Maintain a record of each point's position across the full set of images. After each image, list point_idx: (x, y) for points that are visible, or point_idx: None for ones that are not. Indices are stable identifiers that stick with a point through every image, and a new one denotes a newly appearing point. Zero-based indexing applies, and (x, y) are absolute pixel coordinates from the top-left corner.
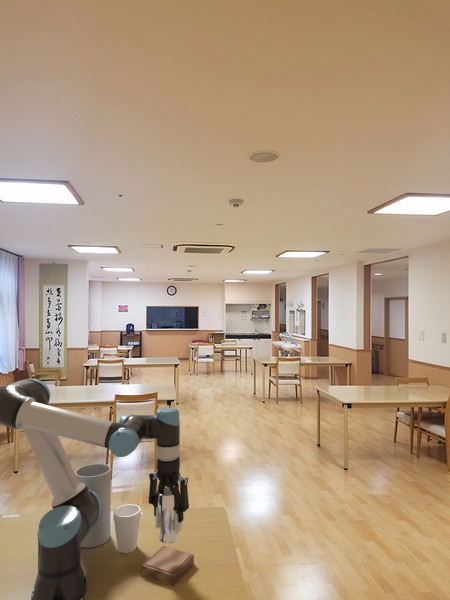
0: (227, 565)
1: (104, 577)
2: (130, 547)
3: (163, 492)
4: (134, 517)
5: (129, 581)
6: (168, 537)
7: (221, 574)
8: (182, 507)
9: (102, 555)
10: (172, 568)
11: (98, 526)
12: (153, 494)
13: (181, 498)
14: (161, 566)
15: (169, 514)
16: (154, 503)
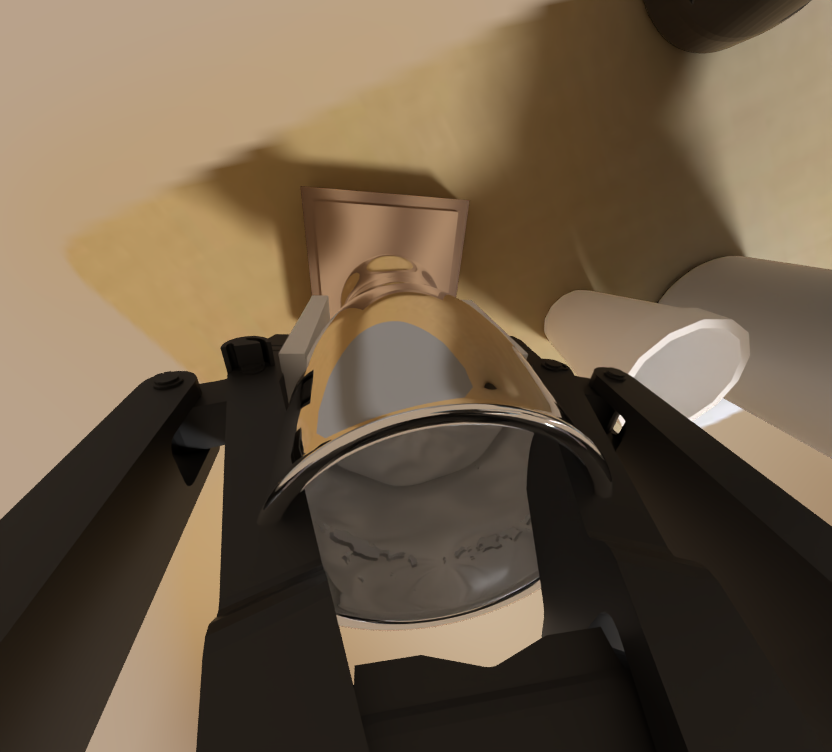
0: (217, 370)
1: (592, 124)
2: (561, 307)
3: (530, 513)
4: (625, 357)
5: (486, 142)
6: (365, 270)
7: (200, 323)
8: (168, 398)
9: (640, 249)
10: (335, 230)
11: (739, 305)
12: (639, 446)
13: (91, 496)
14: (385, 223)
15: (342, 310)
16: (563, 375)
